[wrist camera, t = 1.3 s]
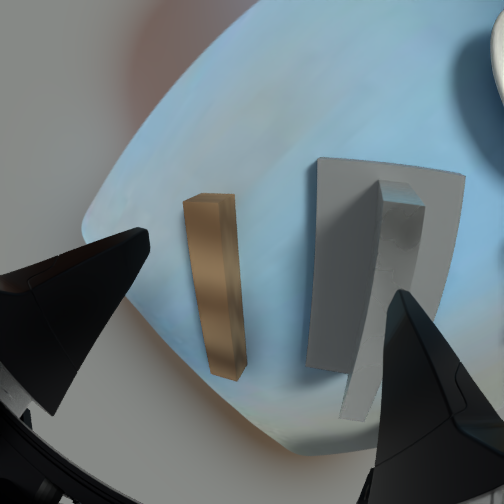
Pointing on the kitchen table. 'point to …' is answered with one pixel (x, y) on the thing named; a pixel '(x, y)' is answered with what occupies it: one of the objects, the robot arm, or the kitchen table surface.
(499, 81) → the spoon rest
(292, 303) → the kitchen table surface
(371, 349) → the steel ridge
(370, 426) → the kitchen table surface
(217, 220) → the walnut batten
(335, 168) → the board
